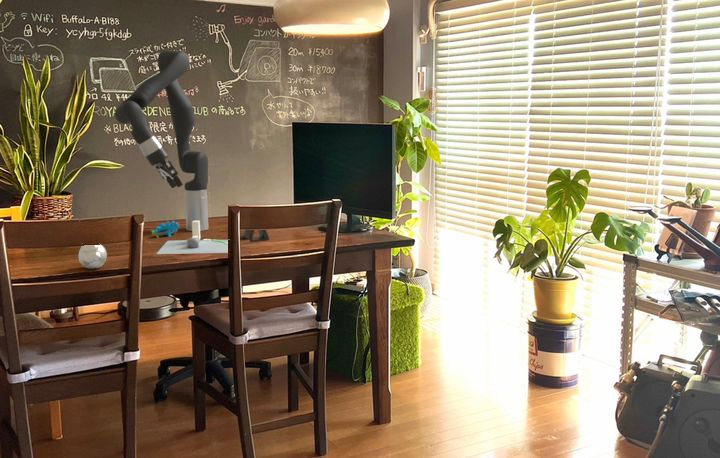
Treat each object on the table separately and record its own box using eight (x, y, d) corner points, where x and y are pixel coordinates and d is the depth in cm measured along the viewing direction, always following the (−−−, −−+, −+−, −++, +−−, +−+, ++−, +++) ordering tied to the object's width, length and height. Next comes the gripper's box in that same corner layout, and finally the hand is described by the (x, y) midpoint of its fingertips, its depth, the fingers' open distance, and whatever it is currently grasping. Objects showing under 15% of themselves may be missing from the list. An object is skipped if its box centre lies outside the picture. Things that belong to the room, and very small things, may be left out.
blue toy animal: (177, 231, 292) (179, 217, 285) (182, 243, 290) (184, 229, 282) (150, 237, 287) (151, 223, 279) (155, 249, 285) (156, 235, 277)
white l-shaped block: (197, 247, 262) (197, 226, 261) (186, 248, 262) (185, 227, 260) (203, 239, 278) (202, 219, 276) (192, 239, 277) (192, 219, 276)
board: (168, 243, 277) (167, 239, 277) (236, 242, 279) (235, 238, 279) (156, 257, 253) (155, 253, 252) (230, 256, 255) (230, 251, 255)
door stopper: (247, 242, 280) (246, 211, 278) (242, 239, 285) (241, 209, 283) (269, 240, 284) (268, 210, 282) (264, 237, 289) (263, 208, 287)
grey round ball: (71, 270, 233) (69, 240, 232) (93, 264, 242) (91, 235, 240) (93, 273, 230) (91, 242, 228) (114, 267, 238) (112, 237, 237)
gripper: (166, 143, 265) (190, 180, 269) (157, 146, 277) (180, 182, 282) (149, 154, 262) (174, 191, 266) (140, 157, 274) (164, 192, 279)
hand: (177, 186), depth 274 cm, fingers open, 8 cm apart
